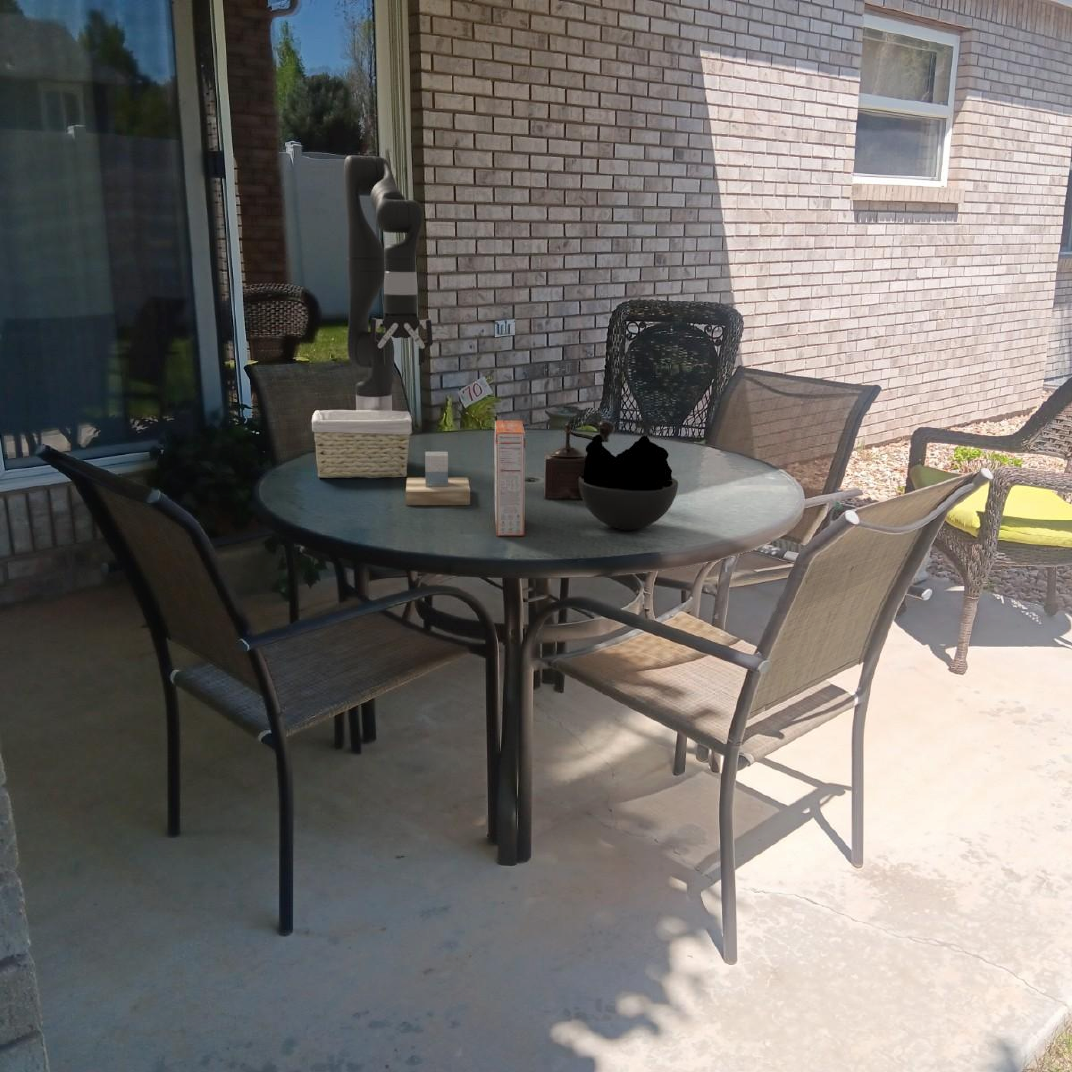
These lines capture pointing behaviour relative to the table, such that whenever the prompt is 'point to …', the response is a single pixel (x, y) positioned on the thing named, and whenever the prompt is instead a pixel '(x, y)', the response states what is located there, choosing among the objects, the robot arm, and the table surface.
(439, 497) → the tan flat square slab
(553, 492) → the wooden coffee grinder
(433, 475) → the gray block
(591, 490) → the bowl of black rocks
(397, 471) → the storage basket
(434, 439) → the table surface
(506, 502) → the cracker box
